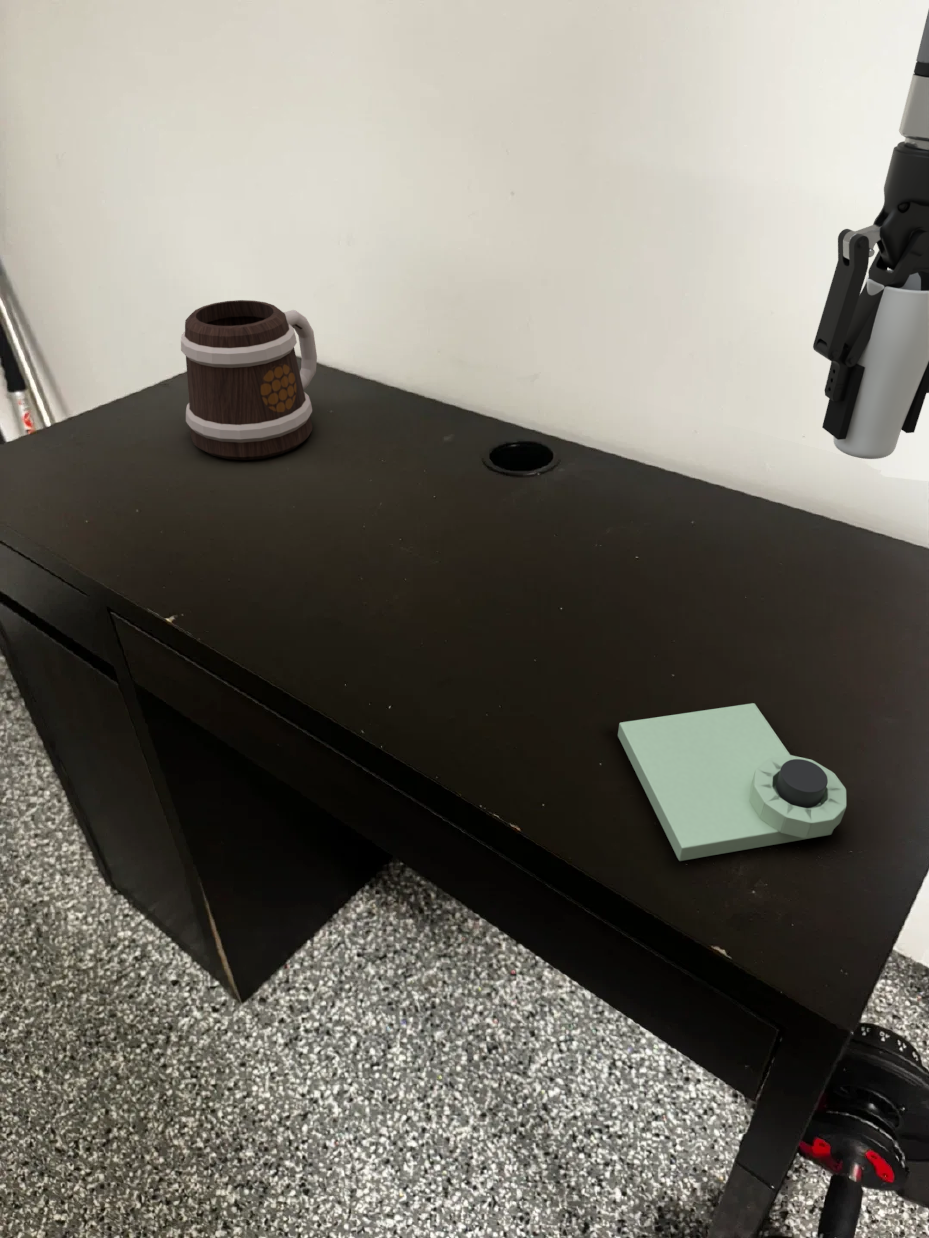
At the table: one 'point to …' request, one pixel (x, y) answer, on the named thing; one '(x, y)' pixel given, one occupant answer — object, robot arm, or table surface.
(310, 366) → the mug
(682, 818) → the scale
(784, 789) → the button
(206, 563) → the table surface
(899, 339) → the drinking glass
